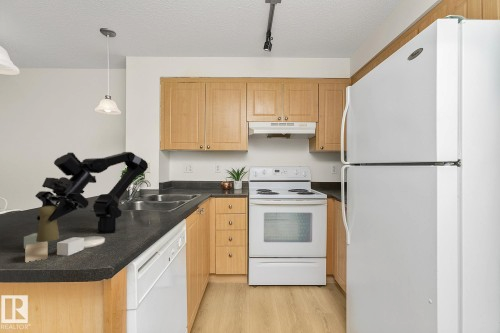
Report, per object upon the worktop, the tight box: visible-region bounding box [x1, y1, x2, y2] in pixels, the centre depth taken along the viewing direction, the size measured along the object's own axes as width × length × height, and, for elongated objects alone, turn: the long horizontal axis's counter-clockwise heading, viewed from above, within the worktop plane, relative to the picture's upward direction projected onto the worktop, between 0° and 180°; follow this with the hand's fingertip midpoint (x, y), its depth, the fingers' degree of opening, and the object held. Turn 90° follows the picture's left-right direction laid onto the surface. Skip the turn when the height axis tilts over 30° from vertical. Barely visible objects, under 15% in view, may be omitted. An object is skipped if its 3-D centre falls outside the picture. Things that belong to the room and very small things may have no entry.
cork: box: [36, 206, 60, 242], centre depth 81 cm, size 6×6×11 cm
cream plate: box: [82, 235, 106, 249], centre depth 88 cm, size 11×11×1 cm
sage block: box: [23, 232, 42, 249], centre depth 85 cm, size 4×4×4 cm
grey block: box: [56, 236, 85, 256], centre depth 79 cm, size 6×4×4 cm, turn 172°
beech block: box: [24, 241, 49, 263], centre depth 74 cm, size 5×5×4 cm
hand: (43, 220), depth 80 cm, fingers closed on cork, 5 cm apart
